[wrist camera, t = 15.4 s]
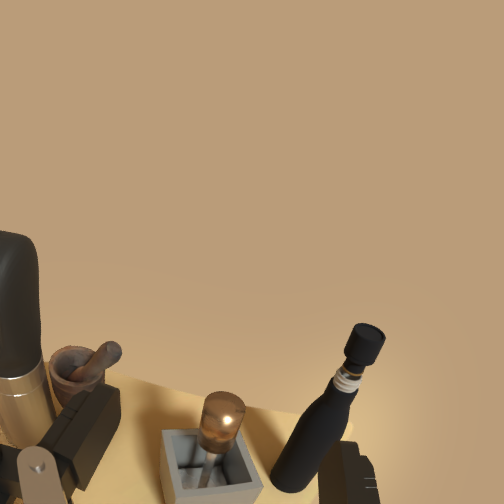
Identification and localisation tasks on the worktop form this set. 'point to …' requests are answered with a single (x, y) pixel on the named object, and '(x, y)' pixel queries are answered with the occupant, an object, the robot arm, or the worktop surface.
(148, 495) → the worktop surface
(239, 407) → the plunger
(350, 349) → the black water bottle
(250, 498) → the grey open box
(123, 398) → the worktop surface
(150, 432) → the worktop surface
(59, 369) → the mortar and pestle
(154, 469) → the worktop surface
